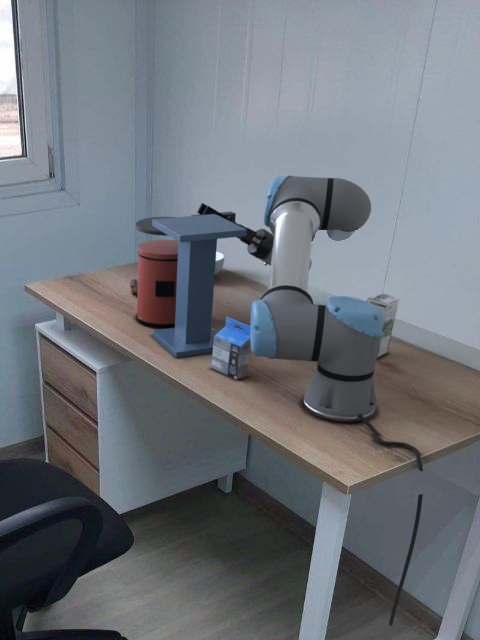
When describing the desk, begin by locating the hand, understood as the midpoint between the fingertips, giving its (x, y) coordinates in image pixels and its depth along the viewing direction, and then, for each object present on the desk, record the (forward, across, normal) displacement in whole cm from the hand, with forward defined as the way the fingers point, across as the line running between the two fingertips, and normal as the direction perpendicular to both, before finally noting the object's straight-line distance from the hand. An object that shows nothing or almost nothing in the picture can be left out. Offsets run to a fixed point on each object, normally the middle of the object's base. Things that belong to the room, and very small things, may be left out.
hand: (202, 209), depth 195 cm
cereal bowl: (-28, +32, -18) cm, 46 cm away
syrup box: (-40, -41, -10) cm, 58 cm away
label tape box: (-6, -40, -30) cm, 50 cm away
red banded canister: (-5, 0, -30) cm, 31 cm away
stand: (-5, -19, -30) cm, 36 cm away
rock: (-9, +19, -29) cm, 35 cm away
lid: (+2, 0, -6) cm, 6 cm away
